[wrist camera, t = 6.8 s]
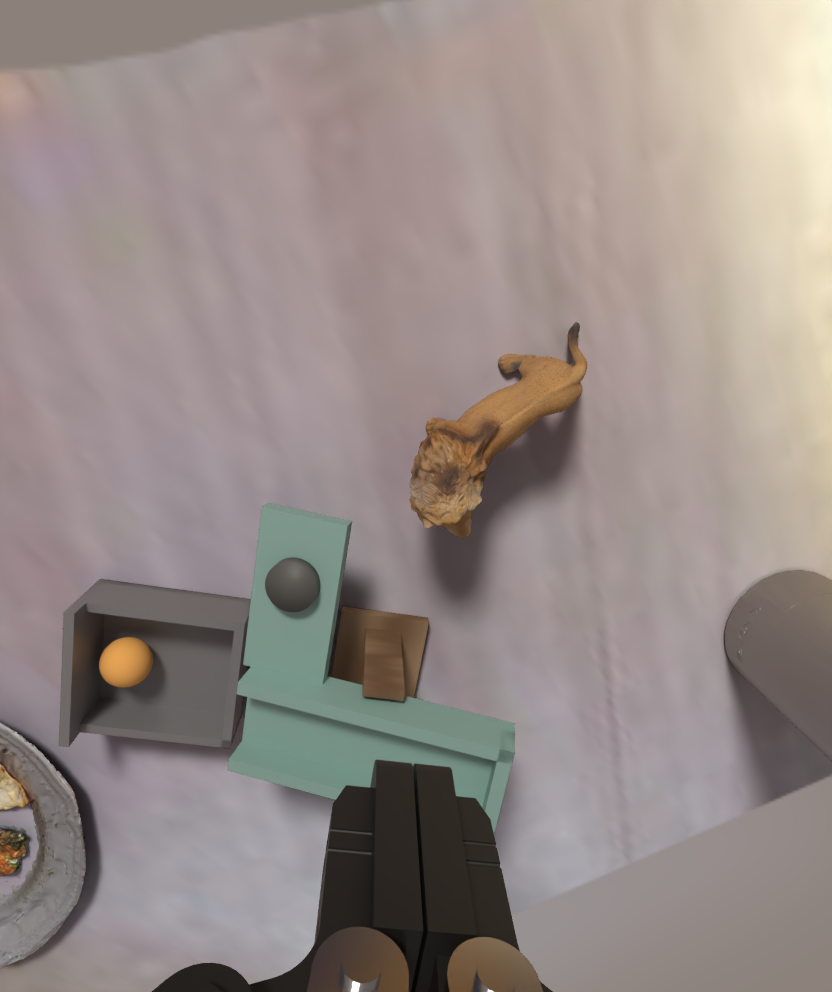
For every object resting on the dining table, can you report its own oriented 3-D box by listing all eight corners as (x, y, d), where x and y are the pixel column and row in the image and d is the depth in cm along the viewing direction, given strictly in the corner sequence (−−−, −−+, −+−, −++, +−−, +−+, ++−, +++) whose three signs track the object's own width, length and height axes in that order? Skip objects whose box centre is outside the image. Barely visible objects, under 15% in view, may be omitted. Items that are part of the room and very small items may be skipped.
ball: (153, 652, 40) (97, 653, 38) (149, 696, 40) (94, 698, 39) (155, 628, 42) (103, 628, 41) (152, 669, 43) (101, 670, 42)
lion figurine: (442, 516, 42) (459, 565, 33) (383, 463, 41) (385, 501, 32) (601, 351, 40) (664, 358, 31) (544, 290, 38) (593, 280, 30)
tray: (255, 599, 42) (239, 635, 38) (241, 716, 45) (224, 763, 40) (100, 579, 41) (63, 612, 37) (93, 699, 44) (58, 746, 39)
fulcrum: (427, 617, 44) (438, 680, 36) (403, 740, 46) (408, 823, 38) (342, 606, 43) (334, 667, 35) (322, 730, 45) (311, 813, 38)
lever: (554, 565, 34) (557, 584, 31) (493, 807, 38) (492, 842, 35) (268, 502, 36) (248, 515, 33) (239, 740, 40) (219, 768, 37)
